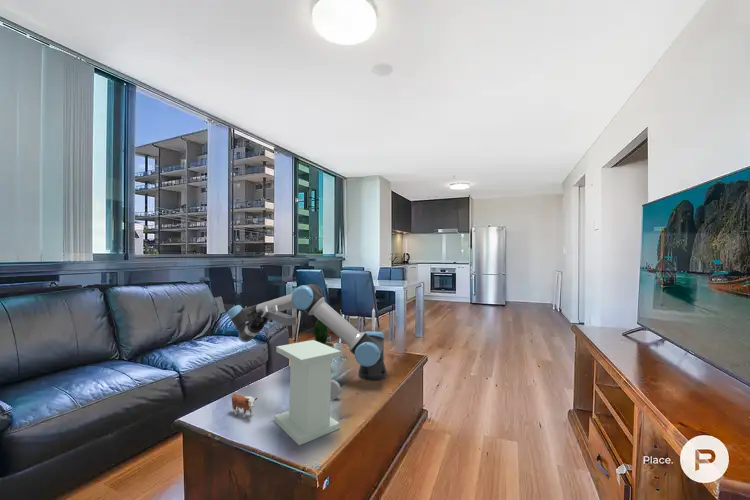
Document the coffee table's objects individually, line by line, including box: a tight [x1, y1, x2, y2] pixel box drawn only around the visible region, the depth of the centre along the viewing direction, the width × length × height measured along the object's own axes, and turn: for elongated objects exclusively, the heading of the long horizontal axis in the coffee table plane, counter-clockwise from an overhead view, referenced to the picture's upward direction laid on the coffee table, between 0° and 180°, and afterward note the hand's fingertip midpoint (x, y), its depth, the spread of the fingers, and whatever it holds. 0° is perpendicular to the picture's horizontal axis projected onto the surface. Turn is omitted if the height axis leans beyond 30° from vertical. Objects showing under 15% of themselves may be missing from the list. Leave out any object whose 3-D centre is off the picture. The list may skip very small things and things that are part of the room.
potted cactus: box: [313, 319, 335, 364], centre depth 167 cm, size 15×15×30 cm
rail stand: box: [273, 339, 342, 446], centre depth 114 cm, size 20×16×28 cm
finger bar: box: [259, 308, 299, 327], centre depth 137 cm, size 30×5×3 cm, turn 41°
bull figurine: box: [231, 393, 258, 419], centre depth 120 cm, size 4×13×8 cm, turn 58°
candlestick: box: [371, 304, 376, 332], centre depth 191 cm, size 11×11×35 cm
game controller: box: [330, 379, 342, 401], centre depth 137 cm, size 20×2×8 cm, turn 78°
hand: (271, 308), depth 141 cm, fingers closed on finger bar, 4 cm apart
